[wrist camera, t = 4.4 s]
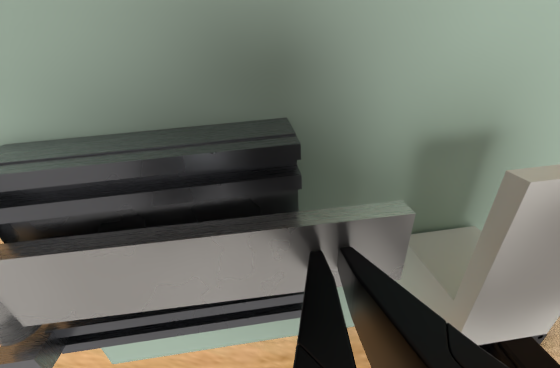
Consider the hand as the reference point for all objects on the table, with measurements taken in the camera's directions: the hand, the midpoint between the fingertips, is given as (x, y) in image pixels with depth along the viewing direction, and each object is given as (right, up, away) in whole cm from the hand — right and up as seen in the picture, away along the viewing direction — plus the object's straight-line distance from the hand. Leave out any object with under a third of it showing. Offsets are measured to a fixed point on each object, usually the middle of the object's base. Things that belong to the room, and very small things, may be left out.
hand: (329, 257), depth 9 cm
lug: (+6, +1, +4) cm, 8 cm away
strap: (-5, 0, +1) cm, 5 cm away
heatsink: (-7, +1, +3) cm, 7 cm away
